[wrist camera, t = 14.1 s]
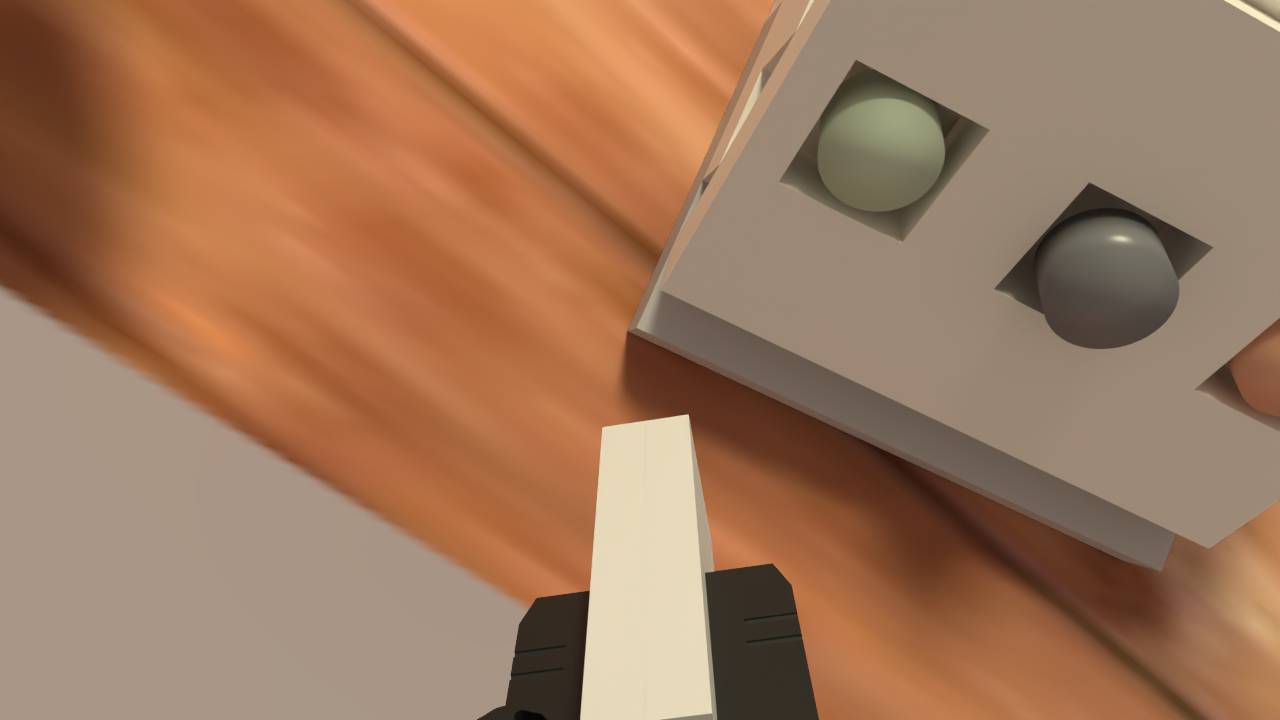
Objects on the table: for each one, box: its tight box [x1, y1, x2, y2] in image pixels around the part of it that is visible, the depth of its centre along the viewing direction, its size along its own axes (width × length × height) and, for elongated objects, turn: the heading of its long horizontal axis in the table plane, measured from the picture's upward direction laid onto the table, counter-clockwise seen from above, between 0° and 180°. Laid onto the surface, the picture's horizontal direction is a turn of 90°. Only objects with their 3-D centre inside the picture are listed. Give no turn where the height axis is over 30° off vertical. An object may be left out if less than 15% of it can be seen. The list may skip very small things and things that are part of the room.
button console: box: [627, 0, 1280, 572], centre depth 35 cm, size 25×17×17 cm
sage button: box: [817, 69, 945, 212], centre depth 32 cm, size 4×4×4 cm
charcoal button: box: [1033, 208, 1179, 349], centre depth 32 cm, size 4×4×4 cm
